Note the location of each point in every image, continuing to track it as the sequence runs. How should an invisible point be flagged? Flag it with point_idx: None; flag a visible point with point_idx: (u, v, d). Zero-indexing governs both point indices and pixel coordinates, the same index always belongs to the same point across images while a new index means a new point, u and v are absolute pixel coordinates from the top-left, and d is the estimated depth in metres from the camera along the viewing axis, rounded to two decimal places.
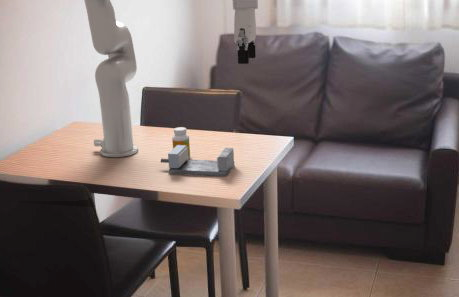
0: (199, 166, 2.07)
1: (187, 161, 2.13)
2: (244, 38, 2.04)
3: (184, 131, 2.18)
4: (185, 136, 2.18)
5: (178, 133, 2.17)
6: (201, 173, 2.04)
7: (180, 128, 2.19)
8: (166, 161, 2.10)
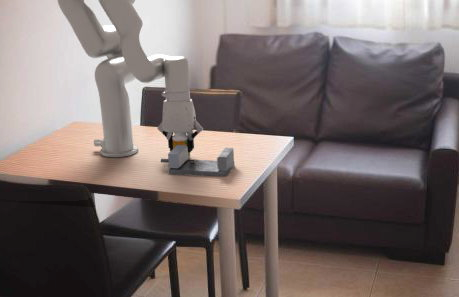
0: (199, 166, 2.07)
1: (187, 161, 2.13)
2: None
3: None
4: (185, 136, 2.18)
5: (178, 133, 2.17)
6: (201, 173, 2.04)
7: None
8: (166, 161, 2.10)
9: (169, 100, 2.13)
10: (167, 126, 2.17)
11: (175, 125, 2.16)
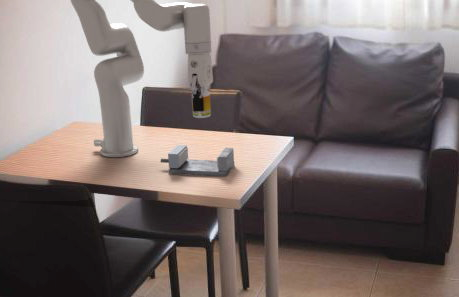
0: (199, 166, 2.07)
1: (187, 161, 2.13)
2: None
3: None
4: None
5: (206, 87, 2.01)
6: (201, 173, 2.04)
7: None
8: (166, 161, 2.10)
9: (207, 51, 1.96)
10: (205, 81, 1.97)
11: (208, 78, 1.99)
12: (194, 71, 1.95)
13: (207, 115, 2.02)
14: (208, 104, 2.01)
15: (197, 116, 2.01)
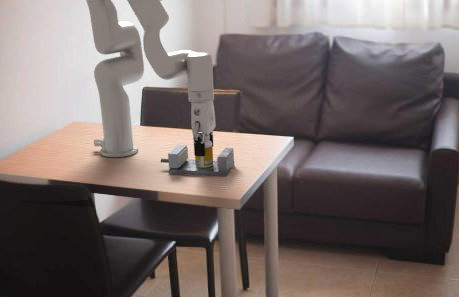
0: None
1: (187, 161, 2.13)
2: None
3: None
4: None
5: (209, 138, 2.05)
6: (201, 173, 2.04)
7: None
8: (166, 161, 2.10)
9: (210, 99, 2.00)
10: (208, 128, 2.01)
11: (211, 125, 2.03)
12: (197, 119, 1.99)
13: (209, 165, 2.06)
14: (210, 154, 2.06)
15: (200, 166, 2.06)
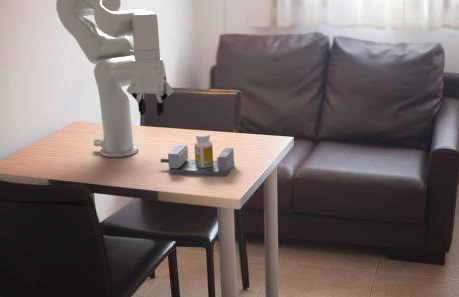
0: None
1: (187, 161, 2.13)
2: None
3: None
4: None
5: (209, 138, 2.05)
6: (201, 173, 2.04)
7: (201, 134, 2.06)
8: (166, 161, 2.10)
9: (137, 59, 2.00)
10: (136, 87, 2.03)
11: (144, 86, 2.02)
12: None
13: (209, 165, 2.06)
14: (210, 154, 2.06)
15: (200, 166, 2.06)
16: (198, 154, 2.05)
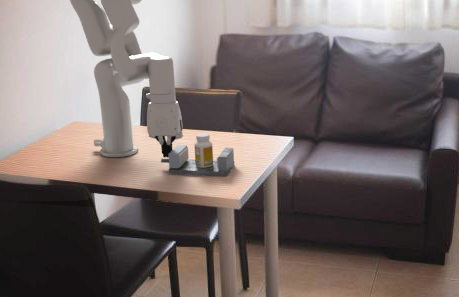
0: None
1: (187, 161, 2.13)
2: None
3: None
4: None
5: (209, 138, 2.05)
6: (201, 173, 2.04)
7: (201, 134, 2.06)
8: (166, 161, 2.10)
9: (153, 102, 2.03)
10: (152, 130, 2.06)
11: (160, 129, 2.05)
12: None
13: (209, 165, 2.06)
14: (210, 154, 2.06)
15: (200, 166, 2.06)
16: (198, 154, 2.05)
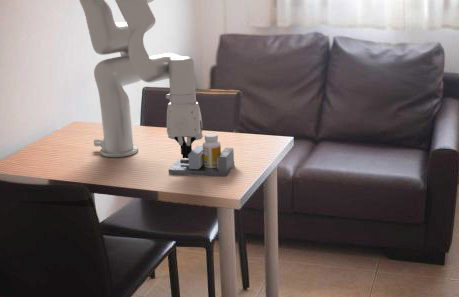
0: None
1: None
2: None
3: None
4: None
5: (217, 138, 2.05)
6: (201, 173, 2.04)
7: (209, 135, 2.05)
8: (186, 162, 2.09)
9: (174, 103, 2.01)
10: (171, 130, 2.04)
11: (180, 130, 2.04)
12: None
13: None
14: None
15: (208, 166, 2.05)
16: (206, 154, 2.04)
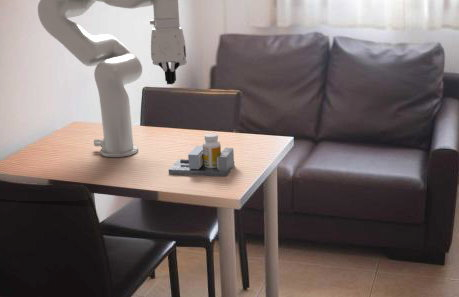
0: None
1: None
2: None
3: None
4: None
5: (217, 138, 2.05)
6: (201, 173, 2.04)
7: (209, 135, 2.05)
8: (186, 162, 2.09)
9: (157, 27, 2.04)
10: (156, 56, 2.07)
11: (164, 55, 2.06)
12: None
13: None
14: None
15: (208, 166, 2.05)
16: (206, 154, 2.04)
